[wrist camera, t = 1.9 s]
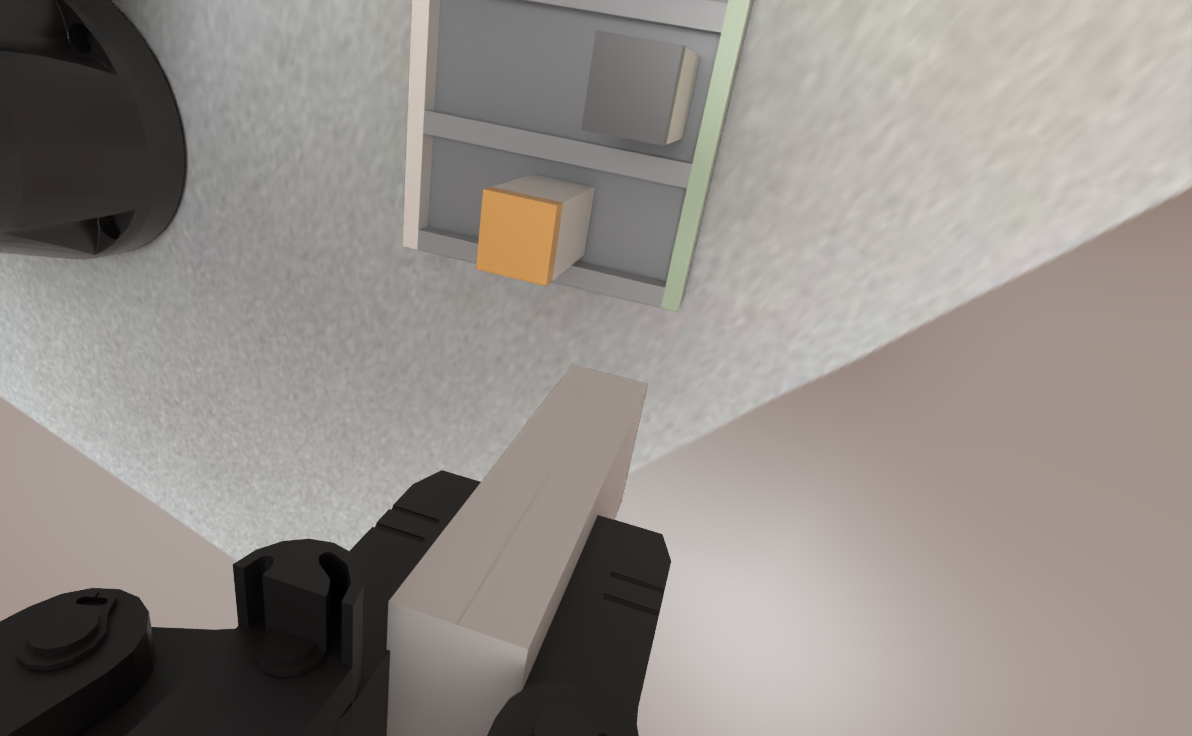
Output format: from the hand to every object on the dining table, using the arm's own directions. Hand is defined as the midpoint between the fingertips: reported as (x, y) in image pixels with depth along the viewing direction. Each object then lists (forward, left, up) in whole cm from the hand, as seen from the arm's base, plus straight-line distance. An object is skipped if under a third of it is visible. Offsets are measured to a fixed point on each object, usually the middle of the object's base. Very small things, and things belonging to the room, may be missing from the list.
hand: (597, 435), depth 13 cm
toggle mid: (-3, +6, -19) cm, 20 cm away
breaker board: (-7, +6, -20) cm, 22 cm away
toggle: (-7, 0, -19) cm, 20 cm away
